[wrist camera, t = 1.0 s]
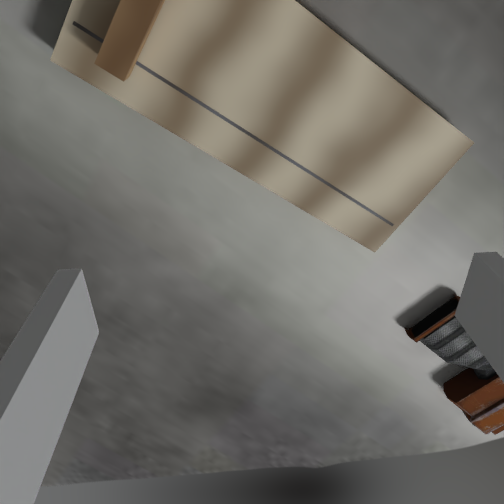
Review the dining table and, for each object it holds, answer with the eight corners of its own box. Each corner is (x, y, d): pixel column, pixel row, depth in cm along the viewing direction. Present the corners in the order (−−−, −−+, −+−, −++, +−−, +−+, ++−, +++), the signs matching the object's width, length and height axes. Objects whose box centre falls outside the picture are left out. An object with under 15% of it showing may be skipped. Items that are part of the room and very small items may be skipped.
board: (62, 56, 30) (49, 60, 28) (131, -125, 25) (122, -137, 23) (366, 239, 40) (375, 252, 38) (459, 134, 35) (474, 143, 33)
